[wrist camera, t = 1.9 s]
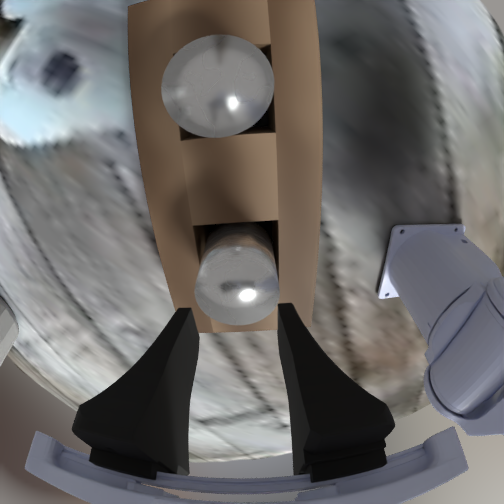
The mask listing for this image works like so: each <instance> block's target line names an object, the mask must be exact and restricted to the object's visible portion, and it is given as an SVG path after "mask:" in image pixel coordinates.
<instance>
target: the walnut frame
mask: <svg viewBox="0 0 504 504" xmlns="http://www.w3.org/2000/svg"><path fill="white" fill-rule="evenodd" d="M210 35H231V36H236V37H239V38H242V39H244V40H246V41H248V42H250V43H252V44H253V45H255V46H256V47H257V48H258V49H259V50H261V52H262V53H263V54H264V55H265V56H266V58H267V59H268V61H269V63H270V65H271V67H272V71H273V74H274V93H273V97H272V100H271V103H270V105H269V107H268V126H265V127H249V128H248V129H246V130H244V131H242V132H240V133H238V134H235V135H231V136H228V137H221V138H210V137H203V136H199V135H196V134H193V133H191V132H189V131H186V130H185V129H183V128H182V127H180V126H179V125H178V124H177V123H176V122H175V121H174V120H173V119H172V118H171V116H170V115H169V113H168V112H167V110H166V108H165V106H164V102H163V99H162V92H161V85H162V79H163V75H164V72H165V69H166V67H167V65H168V63H169V62H170V60H171V59H172V58H173V56H174V55H175V54H176V53H177V52H178V51H179V50H180V49H181V48H183V47H184V46H185V45H187V44H189V43H190V42H192V41H194V40H196V39H199V38H202V37H205V36H210ZM128 55H129V73H130V86H131V98H132V107H133V116H134V125H135V132H136V140H137V146H138V153H139V159H140V165H141V171H142V177H143V182H144V188H145V193H146V198H147V203H148V208H149V212H150V217H151V221H152V226H153V230H154V234H155V239H156V243H157V247H158V251H159V255H160V259H161V262H162V266H163V270H164V274H165V277H166V281H167V284H168V288H169V291H170V295H171V298H172V301H173V305H174V308H175V311H176V310H177V309H178V308H188V307H191V308H192V312H193V315H194V319H195V323H196V326H197V330H198V333H215V332H244V331H263V330H278V304H277V306H276V307H275V309H274V310H273V311H272V312H271V313H270V314H269V315H268V316H267V317H265V318H264V319H262V320H260V321H258V322H255V323H252V324H247V325H229V324H224V323H221V322H218V321H216V320H214V319H212V318H211V317H209V316H208V315H206V314H205V313H204V312H203V311H202V310H201V308H200V307H199V305H198V303H197V301H196V298H195V284H196V280H197V276H198V272H199V268H200V264H201V260H202V256H203V252H204V248H205V245H206V241H207V238H208V236H209V228H208V224H221V223H236V222H252V221H269V220H272V237H273V252H274V258H275V264H276V270H277V276H278V283H279V289H280V297H279V301H278V303H292V304H294V307H295V309H296V311H297V313H298V315H299V316H300V318H301V320H302V322H303V323H304V325H305V326H306V327H311V321H312V313H313V304H314V295H315V285H316V274H317V263H318V250H319V236H320V219H321V197H322V159H323V123H322V86H321V67H320V51H319V39H318V28H317V18H316V9H315V1H314V0H147V1H144V2H140V3H137V4H134V5H131V6H128Z"/></svg>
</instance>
